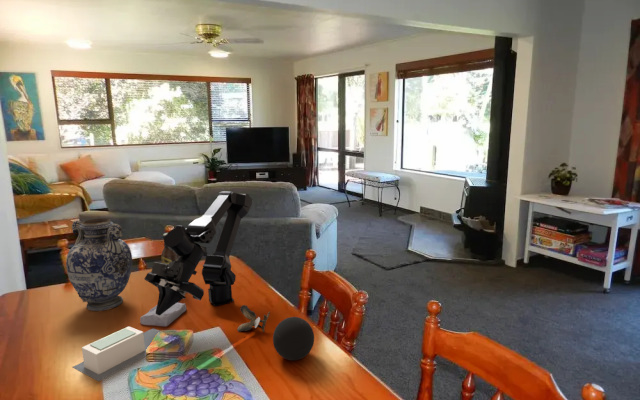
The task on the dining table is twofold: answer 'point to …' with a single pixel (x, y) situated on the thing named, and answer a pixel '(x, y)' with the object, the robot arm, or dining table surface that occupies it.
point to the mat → (147, 340)
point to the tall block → (113, 349)
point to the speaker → (293, 338)
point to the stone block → (163, 315)
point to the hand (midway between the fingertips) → (157, 314)
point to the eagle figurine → (253, 322)
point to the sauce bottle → (168, 254)
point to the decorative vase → (99, 263)
